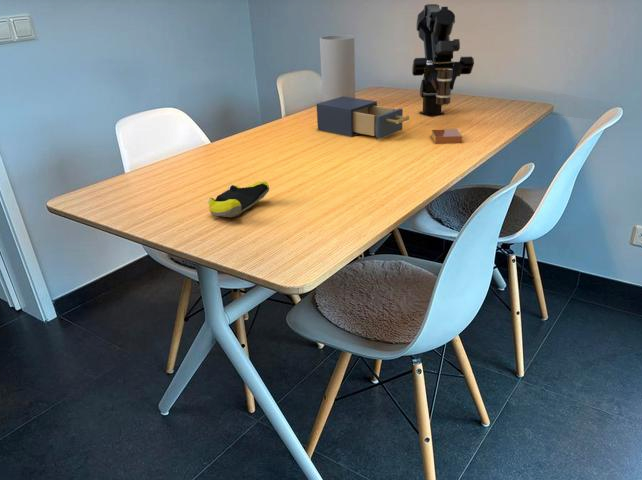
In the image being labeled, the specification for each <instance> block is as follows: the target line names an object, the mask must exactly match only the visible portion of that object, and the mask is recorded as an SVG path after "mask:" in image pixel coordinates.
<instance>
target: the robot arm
mask: <svg viewBox="0 0 642 480" xmlns="http://www.w3.org/2000/svg"><path fill="white" fill-rule="evenodd" d="M455 23H456V15H455V13H454V12H453V11H452V9H451V10H450V9H449V6H441V7H440V5H439V4H437V3H429V4H424V6H423V9H422V10H421V11H420V12H419V13H418V14H417V18H416V31H417V34H418V38H419V39H420V40H421V41H422V42H423V50H424V57H414V58H413V61H412V67H411V69H412V70H411V72H412V76H415V77H416V76H417V77H418V76H423V77H422V79H421V82H420V86H419V87H420V88H419V96H420V98H422V110H421V111H419V113H418V114H422V115H424V116H428V117H433V116H438V115H444V114H445V112H444V111H443V110H442V108H443V107H442V106H443V105H439V104H436V94H437V90H438V83H437V75H438V70H440V69H443V70H444V69H448V70H452V80H451V91H453V90H454V87H455V82H456V81H457V78H458V77H461V75H470V74H472V71H473V69H474V66H475V58H474V57H473V56H471V55H470V56H460V58H459V61H453V59H454V53H455V52H459V51H460V49H461V42H460V38H454V39H453V40H451V39H450V37H451V36H450V35H451V34H452V32H453V27H454V24H455Z"/></svg>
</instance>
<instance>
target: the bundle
mask: <svg viewBox="0 0 642 480" xmlns="http://www.w3.org/2000/svg"><path fill="white" fill-rule="evenodd" d="M451 80H452V69H440V70H438V75H437V83H438V90H437V94H436V104H439V105H442V106H444V105H445V106H448V105H450V104H451V97H452V90H451Z"/></svg>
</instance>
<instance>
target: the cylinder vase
mask: <svg viewBox="0 0 642 480" xmlns="http://www.w3.org/2000/svg"><path fill="white" fill-rule="evenodd" d="M319 51H320V52H319V53H320V74H321V75H320V77H321V92H322V93H321V96H322V97H321V98H322V102H325V101H328V100H332V99H335V98H339V97H342V96H344V97H351V98H356V59H355V58H356V56H355V36H353V35H343V34H341V35H340V34H339V35H325V36H321V37H319Z"/></svg>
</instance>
